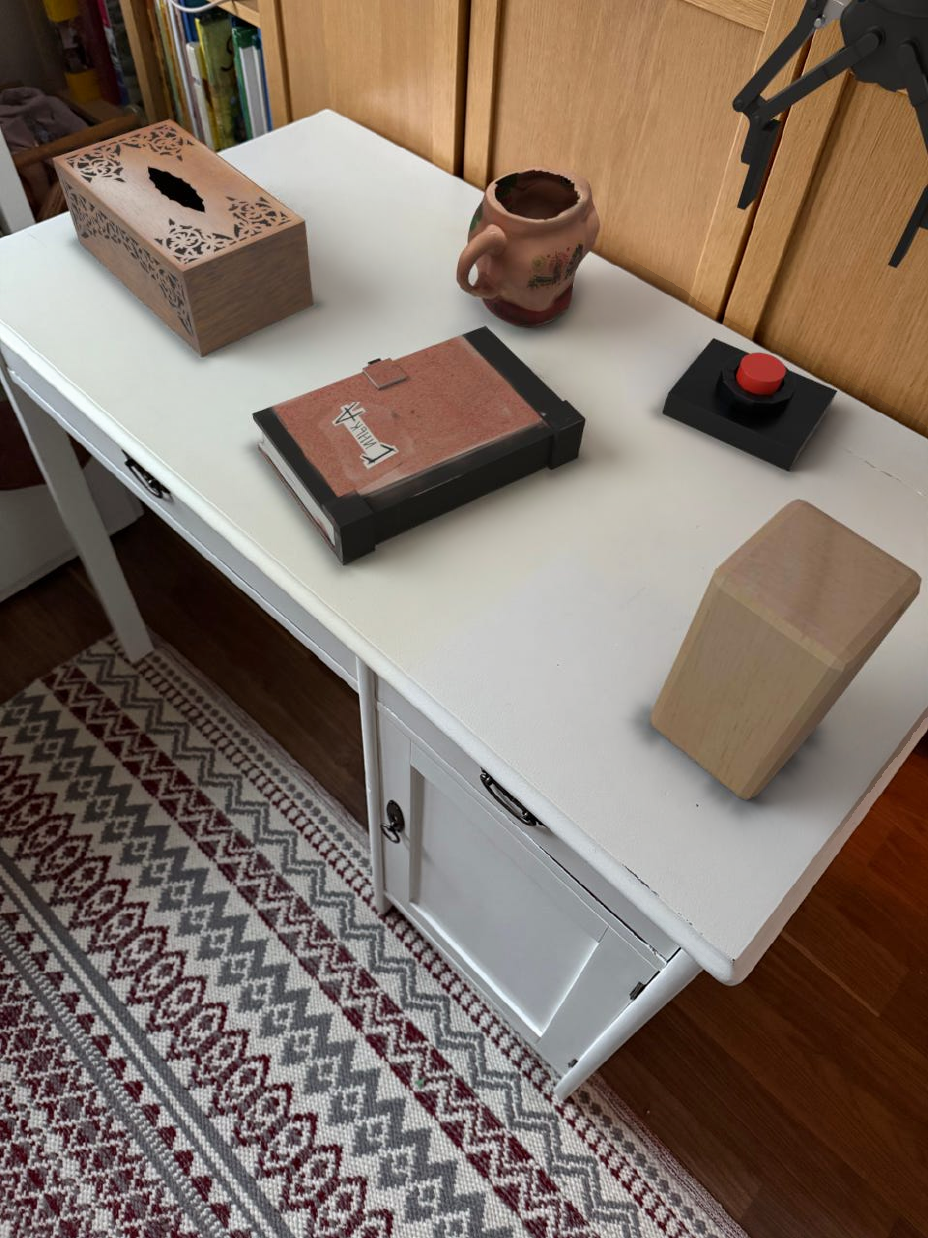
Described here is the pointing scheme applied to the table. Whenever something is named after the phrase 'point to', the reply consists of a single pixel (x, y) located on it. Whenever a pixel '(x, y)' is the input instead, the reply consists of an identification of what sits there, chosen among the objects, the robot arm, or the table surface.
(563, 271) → the terracotta mug
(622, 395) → the table surface
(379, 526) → the book
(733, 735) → the wooden block
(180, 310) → the tissue box cover
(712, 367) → the control block
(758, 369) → the button
